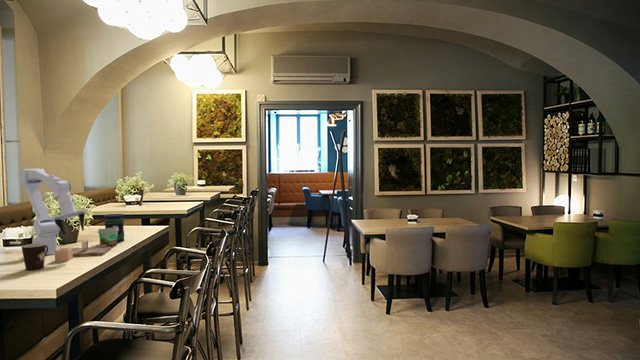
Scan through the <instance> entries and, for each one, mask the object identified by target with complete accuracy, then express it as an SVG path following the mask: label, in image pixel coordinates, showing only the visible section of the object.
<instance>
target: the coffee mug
mask: <svg viewBox="0 0 640 360" xmlns="http://www.w3.org/2000/svg"><path fill="white" fill-rule="evenodd" d="M45 247H46V248H47V250H46V253H45ZM21 251H22V256H23V262H24V267H25V271H27V272H28V271H29V272H31V271H40V270H43V269H44V268H45V256H47V255H46V254H47V252H48V246H46V244H43V243H38V244H33V243H29V244H24V245H22V246H21Z"/></svg>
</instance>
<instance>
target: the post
mask: <svg viewBox="0 0 640 360" xmlns="http://www.w3.org/2000/svg"><path fill="white" fill-rule="evenodd" d="M81 248H82V251H87V250H88V248H89V241H88V240H82V241H81Z"/></svg>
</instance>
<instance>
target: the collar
mask: <svg viewBox="0 0 640 360" xmlns="http://www.w3.org/2000/svg"><path fill="white" fill-rule="evenodd" d="M72 248H73V247H59V248H57V250H55V251H54V253H55V254H54V262H56V261H59V262H69V261H71V260H73V259H74V257H73V250H72ZM56 263H57V262H56Z"/></svg>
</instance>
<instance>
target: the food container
mask: <svg viewBox="0 0 640 360" xmlns="http://www.w3.org/2000/svg"><path fill="white" fill-rule="evenodd" d="M117 231H119V229H118V226H113V227H112V228H106V229H105V228H99V229H98V231H97V232H98V233H97V234H98V237H99V245H100V246H99V247H111V248H113V247H114V248H115V247H117V245H118V243H117Z"/></svg>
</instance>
